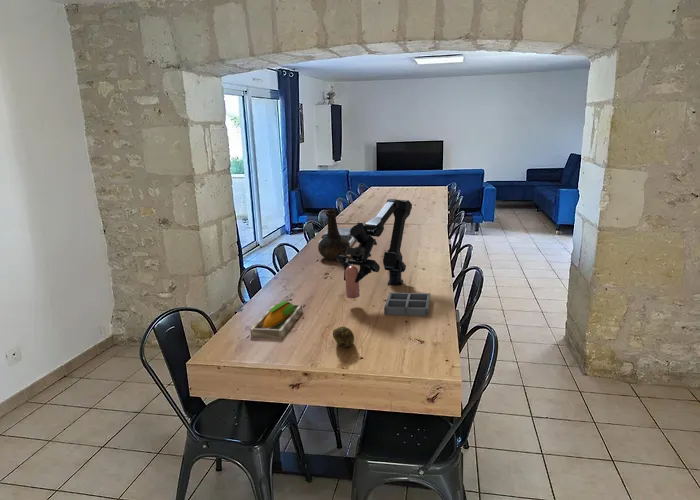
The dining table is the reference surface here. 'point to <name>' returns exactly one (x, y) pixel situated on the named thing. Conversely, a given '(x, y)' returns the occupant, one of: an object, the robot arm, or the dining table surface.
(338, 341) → the potato
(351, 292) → the pink dome-topped cylinder
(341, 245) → the brown vase
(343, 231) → the towel
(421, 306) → the gray compartment tray
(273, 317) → the corn
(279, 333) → the frame
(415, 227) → the dining table surface
